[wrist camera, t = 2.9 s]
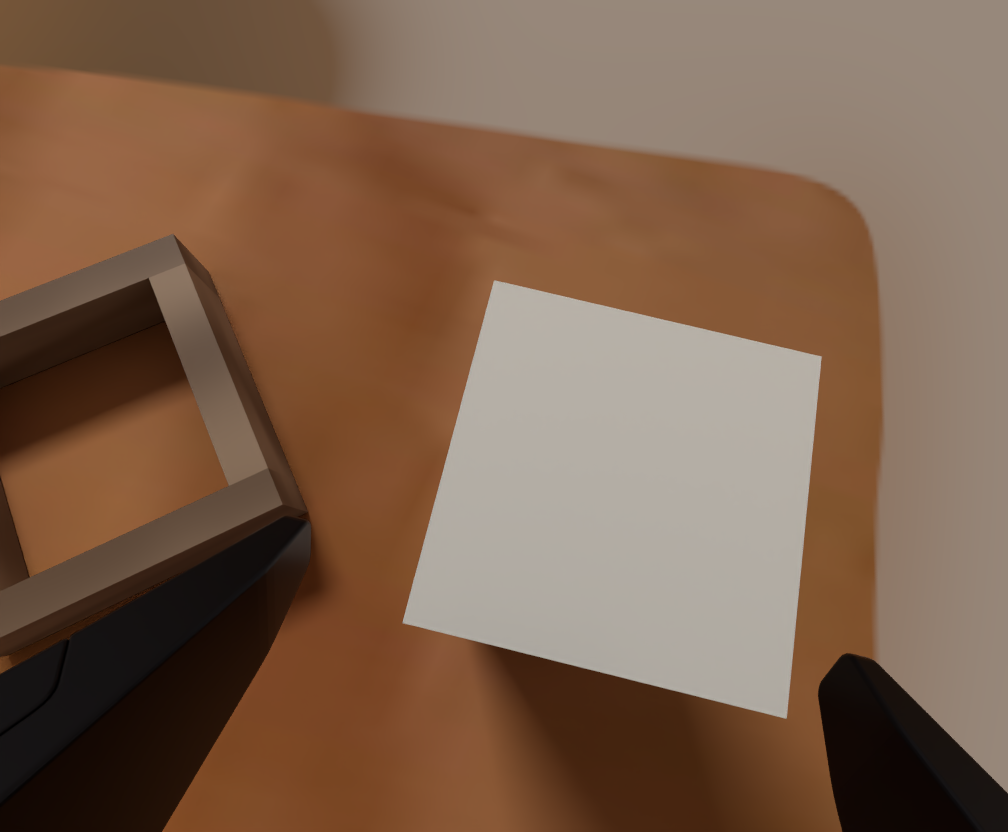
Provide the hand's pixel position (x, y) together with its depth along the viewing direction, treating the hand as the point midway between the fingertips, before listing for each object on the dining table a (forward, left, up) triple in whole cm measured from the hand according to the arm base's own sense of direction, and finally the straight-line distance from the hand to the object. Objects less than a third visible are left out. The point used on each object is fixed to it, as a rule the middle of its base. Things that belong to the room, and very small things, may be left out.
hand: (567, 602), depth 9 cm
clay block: (+1, -1, -10) cm, 10 cm away
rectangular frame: (+10, +10, -10) cm, 18 cm away
